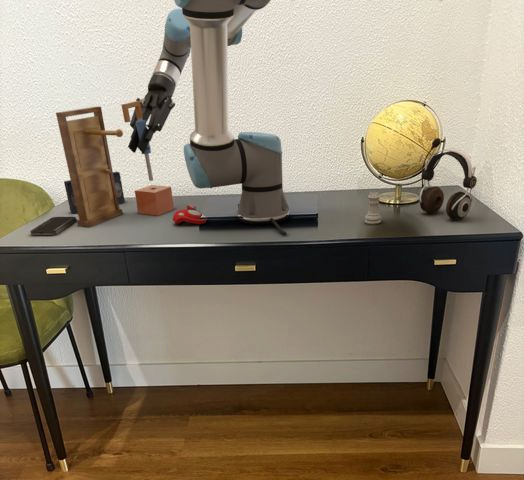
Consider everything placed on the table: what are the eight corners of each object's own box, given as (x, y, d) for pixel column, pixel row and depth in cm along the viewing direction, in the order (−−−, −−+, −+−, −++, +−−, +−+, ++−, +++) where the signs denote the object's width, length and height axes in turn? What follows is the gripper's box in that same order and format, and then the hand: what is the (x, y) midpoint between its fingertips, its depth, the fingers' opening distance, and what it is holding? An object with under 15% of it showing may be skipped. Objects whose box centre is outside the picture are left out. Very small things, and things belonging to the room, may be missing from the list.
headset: (408, 212, 153) (415, 138, 143) (427, 207, 157) (434, 134, 147) (458, 225, 141) (469, 145, 131) (477, 219, 144) (489, 140, 135)
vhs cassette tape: (73, 214, 171) (66, 182, 166) (69, 212, 173) (62, 180, 168) (125, 202, 180) (120, 172, 175) (122, 201, 182) (116, 171, 178)
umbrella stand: (154, 206, 174) (151, 184, 170) (174, 209, 170) (171, 186, 167) (138, 213, 168) (134, 190, 164) (158, 215, 164) (154, 192, 161)
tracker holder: (213, 218, 154) (182, 216, 148) (210, 232, 156) (179, 231, 151) (195, 200, 162) (165, 198, 156) (192, 214, 164) (162, 213, 158)
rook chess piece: (382, 220, 148) (383, 191, 144) (379, 225, 144) (381, 195, 140) (365, 219, 149) (367, 190, 145) (363, 224, 146) (364, 194, 142)
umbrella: (150, 178, 166) (136, 100, 154) (158, 179, 164) (144, 100, 153) (134, 185, 160) (118, 104, 149) (142, 185, 159) (126, 104, 147)
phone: (77, 216, 163) (54, 231, 150) (77, 220, 164) (55, 235, 151) (52, 216, 164) (28, 231, 151) (53, 220, 165) (29, 235, 152)
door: (112, 212, 170) (92, 106, 155) (153, 217, 162) (136, 106, 147) (77, 225, 159) (52, 112, 144) (119, 231, 151) (98, 112, 136)
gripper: (191, 90, 160) (164, 158, 155) (150, 91, 167) (123, 156, 163) (178, 71, 153) (150, 142, 149) (136, 73, 160) (107, 140, 156)
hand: (136, 149), depth 156 cm, fingers closed on umbrella, 3 cm apart
